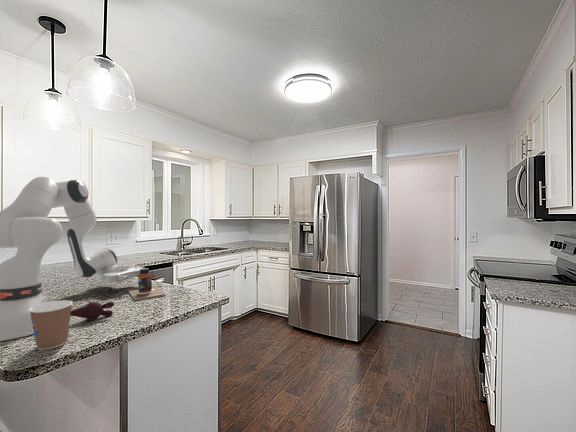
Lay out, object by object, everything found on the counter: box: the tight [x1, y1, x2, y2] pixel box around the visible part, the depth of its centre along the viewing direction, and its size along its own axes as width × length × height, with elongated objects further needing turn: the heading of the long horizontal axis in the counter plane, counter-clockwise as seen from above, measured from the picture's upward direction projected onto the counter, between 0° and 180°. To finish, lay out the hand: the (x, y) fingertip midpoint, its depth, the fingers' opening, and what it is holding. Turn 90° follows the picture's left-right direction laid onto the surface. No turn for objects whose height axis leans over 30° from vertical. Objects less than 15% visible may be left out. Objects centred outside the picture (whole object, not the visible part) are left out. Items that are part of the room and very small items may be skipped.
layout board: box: [126, 284, 166, 302], centre depth 141 cm, size 22×13×1 cm, turn 38°
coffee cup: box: [29, 299, 74, 351], centre depth 86 cm, size 10×10×12 cm
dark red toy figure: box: [70, 301, 115, 322], centre depth 106 cm, size 7×7×15 cm
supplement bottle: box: [137, 267, 153, 293], centre depth 141 cm, size 6×6×11 cm
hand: (135, 276), depth 144 cm, fingers open, 8 cm apart
